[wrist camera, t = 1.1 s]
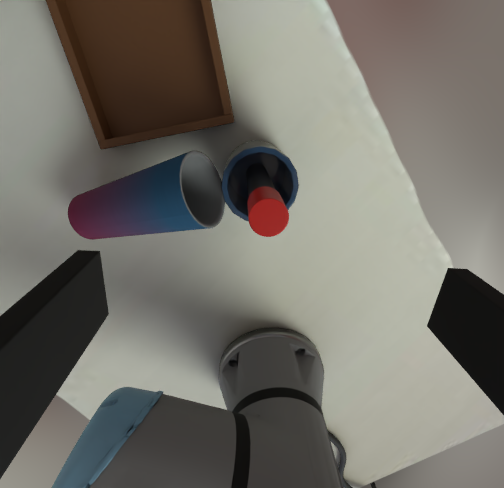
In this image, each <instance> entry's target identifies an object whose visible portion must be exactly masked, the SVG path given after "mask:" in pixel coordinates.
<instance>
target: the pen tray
mask: <svg viewBox="0 0 504 488" xmlns="http://www.w3.org/2000/svg"><path fill="white" fill-rule="evenodd" d="M46 2H47V5H48V8H49V11H50V13H51V16H52V19H53V21H54V24H55V27H56V30H57V32H58V35H59V38H60V40H61V43H62V46H63V48H64V51H65V54H66V57H67V59H68V62H69V65H70V67H71V70H72V73H73V76H74V78H75V81H76V84H77V86H78V89H79V92H80V94H81V97H82V100H83V103H84V105H85V108H86V111H87V113H88V116H89V119H90V121H91V124H92V127H93V130H94V132H95V135H96V138H97V140H98V143H99V146H100V148H101V149H106V148H111V147H116V146H121V145H126V144H131V143H136V142H140V141H145V140H150V139H155V138H160V137H165V136H170V135H175V134H180V133H185V132H190V131H195V130H200V129H205V128H209V127H214V126H219V125H224V124H229V123H234V116H233V111H232V106H231V101H230V96H229V91H228V86H227V80H226V75H225V70H224V65H223V60H222V55H221V50H220V44H219V39H218V34H217V29H216V24H215V19H214V14H213V9H212V3H211V0H46Z"/></svg>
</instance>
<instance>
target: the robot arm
mask: <svg viewBox="0 0 504 488" xmlns="http://www.w3.org/2000/svg"><path fill="white" fill-rule="evenodd" d="M108 314H109V313H108V306H107V299H106V292H105V285H104V278H103V271H102V264H101V257H100V251H82V250H78V251H77V252H75V253H74V254H73V255H72V256H71V257H70V258H68V259H67V260H66V261H65V262H64V263H62V264H61V265H60V266H59V267H58V268H57V269H55V270H54V271H53V272H52V273H51V274H49V275H48V276H47V277H46V278H45V279H44V280H42V281H41V282H40V283H39V284H38V285H36V286H35V287H34V288H33V289H32V290H31V291H29V292H28V293H27V294H26V295H25V296H23V297H22V298H21V299H20V300H19V301H18V302H16V303H15V304H14V305H13V306H12V307H11V308H9V309H8V310H7V311H6V312H5V313H3V314H2V315H1V316H0V479H1V477H2V475H3V474H4V472H5V471H6V469H7V468H8V466H9V465H10V463H11V462H12V460H13V459H14V457H15V456H16V454H17V453H18V451H19V450H20V448H21V447H22V445H23V444H24V442H25V440H26V438H27V437H28V436H29V434H30V433H31V431H32V430H33V428H34V427H35V425H36V424H37V422H38V421H39V419H40V418H41V416H42V415H43V413H44V411H45V410H46V409H47V407H48V406H49V404H50V402H51V401H52V399H53V398H54V396H55V395H56V393H57V392H58V390H59V389H60V387H61V386H62V384H63V383H64V381H65V380H66V378H67V377H68V375H69V374H70V372H71V371H72V369H73V368H74V366H75V365H76V363H77V361H78V360H79V358H80V357H81V355H82V354H83V352H84V351H85V349H86V348H87V346H88V345H89V343H90V342H91V340H92V339H93V337H94V336H95V334H96V333H97V331H98V330H99V328H100V327H101V325H102V323H103V322H104V320H105V319H106V317H107V316H108ZM427 327H428V328H429V329H430V330H431V331H432V332H433V334H434V335H435V336H436V337H437V338H438V339H439V341H440V342H441V343H442V344H443V345H444V346H445V347H446V349H447V350H448V351H449V352H450V353H451V354H452V356H453V357H454V358H455V359H456V360H457V361H458V363H459V364H460V365H461V366H462V367H463V368H464V370H465V371H466V372H467V373H468V374H469V375H470V377H471V378H472V379H473V380H474V381H475V382H476V384H477V385H478V386H479V387H480V388H481V389H482V390H483V392H484V393H485V394H486V395H487V396H488V397H489V399H490V400H491V401H492V402H493V403H494V404H495V406H496V407H497V408H498V409H499V410H500V411H501V413H502V414H503V415H504V295H503V294H502V293H500V292H499V291H498V290H496V289H495V288H493V287H492V286H490V285H489V284H488V283H486V282H485V281H483V280H482V279H481V278H479V277H478V276H476V275H475V274H473V273H472V272H470V271H469V270H468V269H454V268H448V270H447V273H446V275H445V278H444V281H443V284H442V286H441V289H440V292H439V295H438V297H437V300H436V303H435V305H434V308H433V311H432V314H431V316H430V319H429V322H428V325H427ZM323 381H324V368H323V364H322V361H321V358H320V355H319V352H318V350H317V349H316V347H315V346H314V344H313V343H312V342H311V341H310V340H308V339H307V338H306V337H304V336H303V335H301V334H299V333H297V332H294V331H291V330H287V329H281V328H265V329H259V330H255V331H252V332H249V333H247V334H245V335H243V336H241V337H239V338H238V339H236V340H235V341H234V342H233V343H231V344H230V345H229V347H228V348H227V349H226V350H225V352H224V354H223V356H222V358H221V361H220V367H219V384H220V388H221V391H222V394H223V398H224V401H225V404H226V407H227V410H224V409H220V408H216V407H212V406H209V405H205V404H201V403H197V402H193V401H189V400H185V399H181V398H177V397H173V396H169V395H165V394H163V391H158V392H153V391H147V390H142V389H137V388H132V387H123V388H119V389H117V390H115V391H114V392H112V393H111V394H110V395H109V396H108V397H107V398H106V399H105V400H104V401H103V403H102V404H101V405H100V407H99V408H98V409H97V411H96V412H95V414H94V416H93V417H92V419H91V420H90V422H89V424H88V425H87V427H86V428H85V430H84V431H83V433H82V435H81V436H80V438H79V440H78V442H77V443H76V445H75V447H74V448H73V450H72V452H71V453H70V455H69V457H68V459H67V461H66V462H65V464H64V466H63V468H62V470H61V472H60V473H59V475H58V477H57V479H56V481H55V482H54V484H53V486H52V488H352V487H351V486H350V485H349V484H348V483H347V482H346V481H345V480H344V478H343V471H344V467H345V463H346V452H345V450H344V448H343V446H342V444H341V443H340V442H339V441H338V440H337V438H335V437H334V436H333V435H332V434H331V433H329V432H328V431H327V428H326V424H325V420H324V417H323V413H322V409H321V405H322V393H323ZM330 441H331V442H332V443H333V444H334V445H335V446H336V447H337V448H338V450H339V451H340V455H341V460H340V464H339V468H338V466H337V463H336V459H335V456H334V452H333V449H332V445H331V442H330ZM370 484H371V487H372V488H376V485H375V483H374V482H372V483H370Z"/></svg>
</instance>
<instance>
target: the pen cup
mask: <svg viewBox="0 0 504 488" xmlns="http://www.w3.org/2000/svg"><path fill="white" fill-rule="evenodd" d="M253 164H261V165H263V166H264V167H265V168H266V170H267V172H268V175H269V177H270V179H271V181H272V183H273V185H274V187H275V190H277V191H278V192H279V194H280V196H281V198H282V200H283V202H284V204H285V206H286V208H287V210H288V209H289V208H290V207H291V205H292V204H293V203H294V201H295V199H296V195H297V191H298V186H299V185H298V177H297V172H296V169H295V168H294V166H293V164H292V163H291V161H290V159H289V158H288V157H287V156H286V155H285V154H284V153H283V152H281V151H280V150H279V149H278V148H276V147H275V146H274V145H272V144H271V143H268V142H265V141H259V140H255V141H249V142H246V143H243V144H242V145H240V146H238V147H237V148H236V149H235V150H234V151H233V152H232V153H231V155H230V157H229V158H228V160H227V162H226V166H225V169H224V173H223V179H222V185H221V186H222V192H223V196H224V200H225V202H226V204H227V205H228V206H229V208H230V209H231V211H232V212H233V213H234V214H236V215H237V216H239V217H240V218H242V219H244V220H246V221H249V218H248V206H247V202H248V198H249V196H248V186H247V176H246V173H247V169H248V168H249V167H250V166H251V165H253Z"/></svg>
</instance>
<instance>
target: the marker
mask: <svg viewBox="0 0 504 488" xmlns="http://www.w3.org/2000/svg"><path fill="white" fill-rule="evenodd" d="M246 176H247V186H248V196H249V198H248V202H247V206H248V218H249V224H250V226H251V228H252V229H253V231H255V232H256V233H257V234H259V235H261V236H266V237H271V236H275V235H277V234H279V233H281V232H282V231H283V230H284V229H285V227H286V226H287V224H288V220H289V213H288V210H287V208H286V206H285V204H284V202H283V200H282V198H281V196H280V194H279V192H278V191H277V190H275V187H274V185H273V183H272V181H271V179H270V177H269V175H268V172H267V170H266V168H265V167H264V166H263V165H261V164H253V165H251V166H250V167H249V168H248V169H247V173H246Z"/></svg>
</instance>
